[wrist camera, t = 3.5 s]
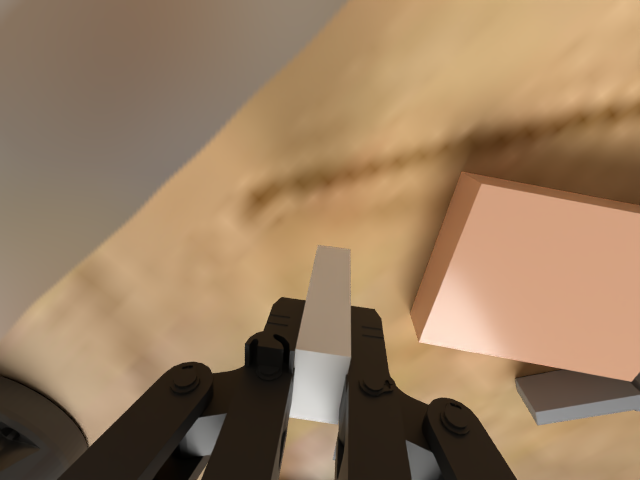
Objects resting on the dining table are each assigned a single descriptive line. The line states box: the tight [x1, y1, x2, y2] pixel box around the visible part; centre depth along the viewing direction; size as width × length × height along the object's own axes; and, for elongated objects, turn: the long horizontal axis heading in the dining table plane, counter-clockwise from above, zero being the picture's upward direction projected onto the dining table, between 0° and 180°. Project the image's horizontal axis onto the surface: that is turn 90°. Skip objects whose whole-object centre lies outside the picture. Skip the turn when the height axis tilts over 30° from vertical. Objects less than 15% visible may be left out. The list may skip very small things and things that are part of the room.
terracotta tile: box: [410, 171, 640, 382], centre depth 17 cm, size 12×9×3 cm
